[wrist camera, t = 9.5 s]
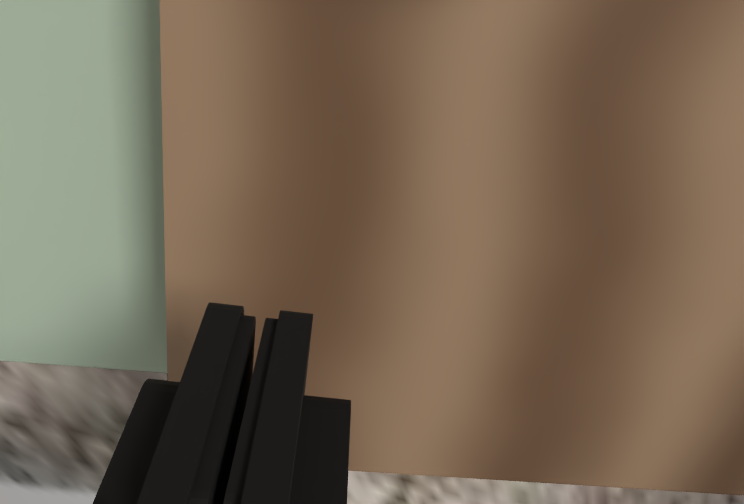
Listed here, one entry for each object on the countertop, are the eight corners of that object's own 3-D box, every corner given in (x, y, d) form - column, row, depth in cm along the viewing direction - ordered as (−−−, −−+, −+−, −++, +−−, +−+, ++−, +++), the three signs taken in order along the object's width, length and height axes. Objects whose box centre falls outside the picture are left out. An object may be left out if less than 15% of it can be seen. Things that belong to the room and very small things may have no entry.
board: (992, -3, 18) (1146, 33, 15) (770, 410, 25) (840, 501, 21) (197, -112, 16) (157, -101, 13) (195, 366, 23) (169, 459, 20)
